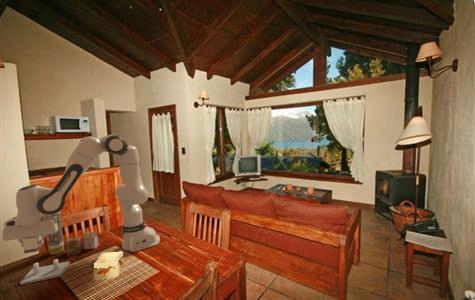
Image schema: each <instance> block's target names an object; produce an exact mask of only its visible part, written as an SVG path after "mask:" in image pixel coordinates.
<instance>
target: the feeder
mask: <svg viewBox="0 0 475 300" xmlns="http://www.w3.org/2000/svg"><path fill="white" fill-rule="evenodd" d="M82 249H83V248H82V238H81V236H76V237H71V238H68V239H67V240H66V251H67V253H66V256H72V255H77V254H81V251H82Z"/></svg>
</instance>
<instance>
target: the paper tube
mask: <svg viewBox="0 0 475 300" xmlns="http://www.w3.org/2000/svg"><path fill="white" fill-rule="evenodd" d="M61 211H62V210H61ZM61 211H59V212H58V213H56V214H52V215H46V214H45V216H55V217H57V225H58V230H57V232H56V233H55V234H50V235H47V240H48V241H47V243H48V250H49V251H48V253H49V255H51V256H52V255H53V256H55V255H59V254H60V253H63V252H64V250H65V244H64V243H65V241H64V233H63V223H62V212H61Z"/></svg>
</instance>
